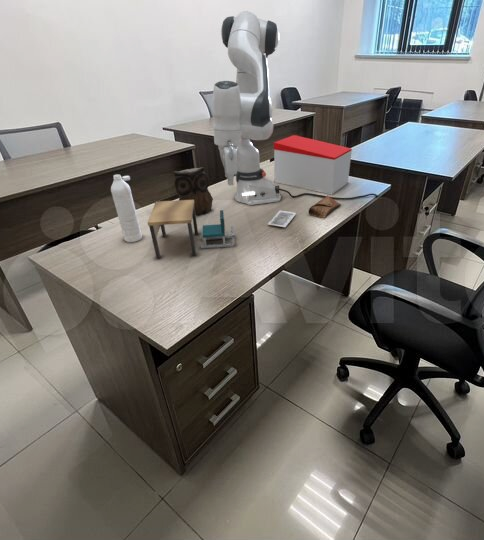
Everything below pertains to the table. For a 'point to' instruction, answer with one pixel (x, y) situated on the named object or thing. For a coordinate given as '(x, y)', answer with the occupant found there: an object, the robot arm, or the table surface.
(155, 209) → the desk
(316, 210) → the sunglasses case
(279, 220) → the deck of cards
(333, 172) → the red-lidded white box
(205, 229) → the chair
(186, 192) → the owl
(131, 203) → the water bottle
